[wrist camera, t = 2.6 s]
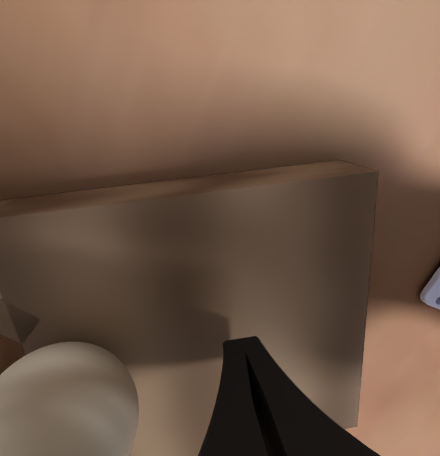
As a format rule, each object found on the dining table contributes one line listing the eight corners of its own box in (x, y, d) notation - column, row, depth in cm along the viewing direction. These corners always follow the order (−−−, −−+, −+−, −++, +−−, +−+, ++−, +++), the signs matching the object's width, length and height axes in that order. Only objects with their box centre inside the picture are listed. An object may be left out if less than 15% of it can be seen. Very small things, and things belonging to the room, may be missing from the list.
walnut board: (339, 159, 14) (378, 171, 11) (331, 379, 19) (357, 426, 16) (-218, 225, 12) (-334, 258, 10) (-76, 448, 17) (-127, 514, 14)
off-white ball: (164, 334, 13) (153, 464, 8) (123, 420, 14) (93, 575, 9) (34, 296, 11) (-69, 423, 7) (4, 395, 13) (-100, 558, 8)
